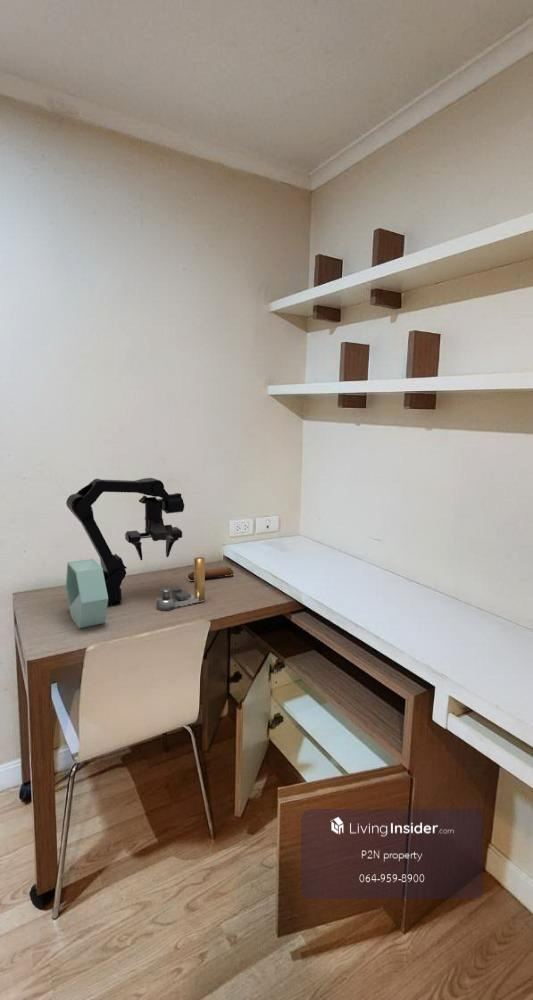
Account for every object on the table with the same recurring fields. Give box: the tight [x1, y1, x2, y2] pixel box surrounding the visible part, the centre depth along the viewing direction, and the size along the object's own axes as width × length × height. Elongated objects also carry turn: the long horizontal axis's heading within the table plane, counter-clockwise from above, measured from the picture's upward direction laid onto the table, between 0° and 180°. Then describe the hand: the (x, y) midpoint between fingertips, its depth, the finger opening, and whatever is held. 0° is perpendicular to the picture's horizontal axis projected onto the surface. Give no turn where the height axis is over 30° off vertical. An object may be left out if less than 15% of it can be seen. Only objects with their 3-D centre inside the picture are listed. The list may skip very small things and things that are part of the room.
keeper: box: [171, 586, 192, 600], centre depth 173 cm, size 4×8×4 cm, turn 38°
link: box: [156, 556, 206, 611], centre depth 170 cm, size 17×6×15 cm, turn 121°
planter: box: [65, 558, 108, 629], centre depth 156 cm, size 17×8×21 cm
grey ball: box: [160, 587, 172, 600], centre depth 168 cm, size 3×3×3 cm
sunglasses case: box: [188, 566, 234, 580], centre depth 200 cm, size 18×7×7 cm
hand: (154, 558), depth 178 cm, fingers open, 9 cm apart
